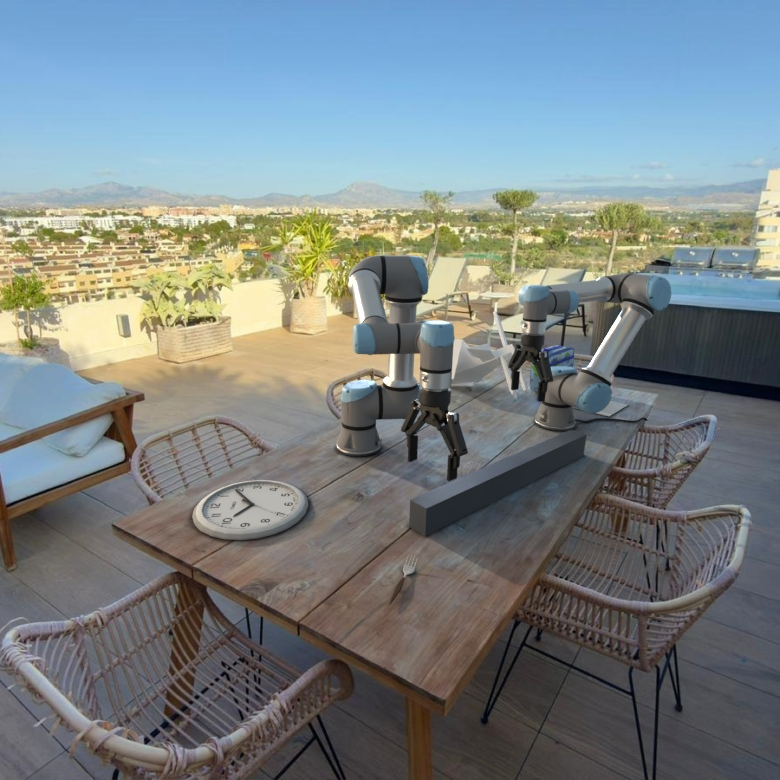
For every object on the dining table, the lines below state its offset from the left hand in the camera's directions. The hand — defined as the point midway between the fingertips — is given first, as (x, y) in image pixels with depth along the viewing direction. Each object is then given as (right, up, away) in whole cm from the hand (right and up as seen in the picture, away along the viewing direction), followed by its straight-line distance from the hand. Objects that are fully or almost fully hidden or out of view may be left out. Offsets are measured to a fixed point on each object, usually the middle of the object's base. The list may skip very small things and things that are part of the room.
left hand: (431, 469), depth 129 cm
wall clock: (-47, -12, +11) cm, 50 cm away
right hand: (+36, +18, +48) cm, 63 cm away
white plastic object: (+31, +19, +114) cm, 120 cm away
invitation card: (+81, +12, +97) cm, 127 cm away
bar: (+25, -9, +26) cm, 37 cm away
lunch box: (+66, +19, +119) cm, 137 cm away
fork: (-8, -22, -17) cm, 29 cm away
